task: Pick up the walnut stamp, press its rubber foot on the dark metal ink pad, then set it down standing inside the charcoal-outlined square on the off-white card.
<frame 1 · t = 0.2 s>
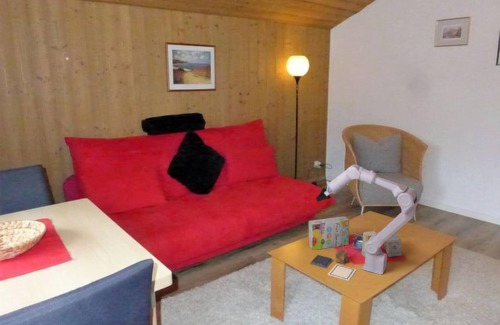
hand: (319, 197, 183), 31 cm above the table, tool tilted 45°, fingers open, 7 cm apart
marked card: (342, 272, 173), on the table
snack box: (328, 246, 200), on the table
ink pad: (321, 262, 183), on the table
skincare box: (369, 255, 188), on the table
incense holder: (391, 253, 190), on the table
walnut stamp: (341, 261, 183), on the table
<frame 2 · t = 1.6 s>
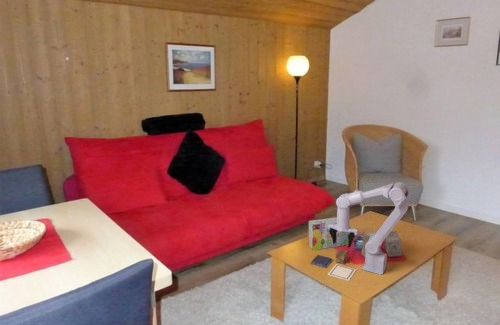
hand: (341, 244, 181), 9 cm above the table, tool pointing down, fingers open, 7 cm apart
nothing on the table moved.
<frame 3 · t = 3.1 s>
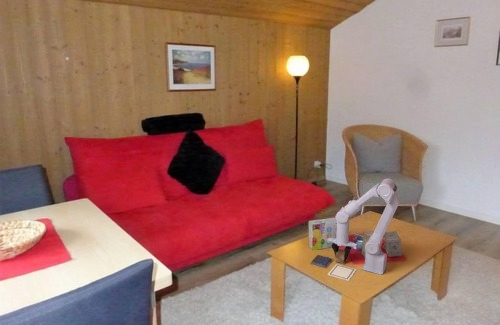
hand: (341, 258, 183), 1 cm above the table, tool pointing down, fingers closed on walnut stamp, 4 cm apart
walnut stamp: (341, 261, 183), on the table, touching gripper
everything else where it was.
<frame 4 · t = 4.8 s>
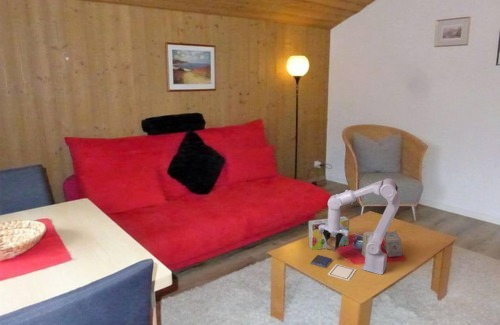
hand: (332, 245, 181), 9 cm above the table, tool pointing down, fingers closed on walnut stamp, 4 cm apart
walnut stamp: (332, 248, 181), point 7 cm above the table, touching gripper
everything else where it was.
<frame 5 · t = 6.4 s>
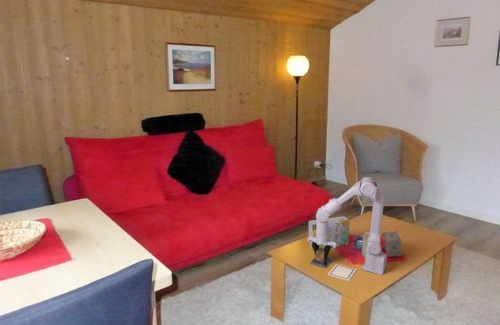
hand: (321, 257, 182), 3 cm above the table, tool pointing down, fingers closed on walnut stamp, 4 cm apart
walnut stamp: (321, 259, 182), point 1 cm above the table, touching gripper, ink pad
everything else where it was.
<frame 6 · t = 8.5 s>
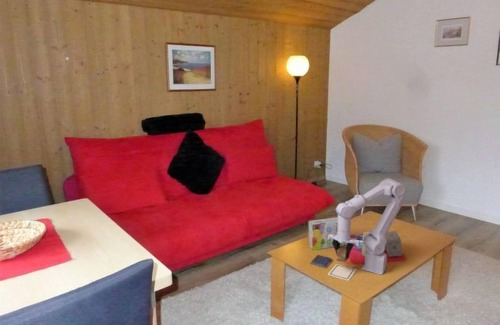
hand: (342, 256, 171), 8 cm above the table, tool pointing down, fingers closed on walnut stamp, 4 cm apart
walnut stamp: (342, 258, 171), point 7 cm above the table, touching gripper
everything else where it was.
when the fingers open (3 cm above the table, at t = 10.1 s): walnut stamp drops 1 cm, resting on marked card.
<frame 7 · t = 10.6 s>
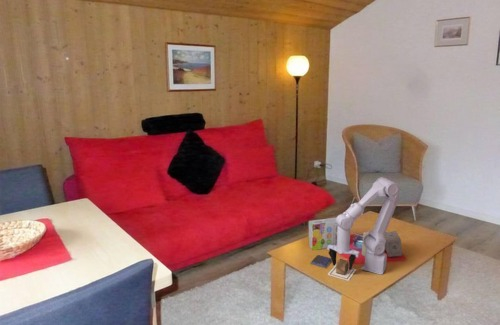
hand: (342, 266, 172), 3 cm above the table, tool pointing down, fingers open, 7 cm apart
walnut stamp: (342, 271, 173), resting on marked card
everything else where it was.
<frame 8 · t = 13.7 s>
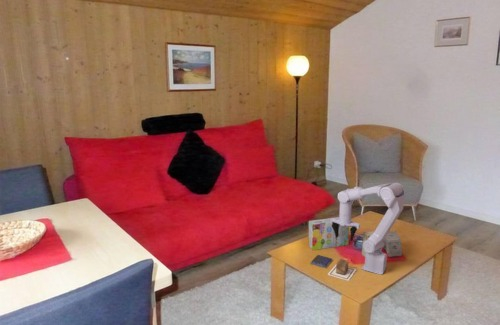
hand: (344, 238, 186), 9 cm above the table, tool pointing down, fingers open, 7 cm apart
nothing on the table moved.
at the end: walnut stamp 0.0 cm off-centre on the marked card, point 0.3 cm above the marked card's base; walnut stamp tilted 0°; the gripper is holding nothing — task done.
